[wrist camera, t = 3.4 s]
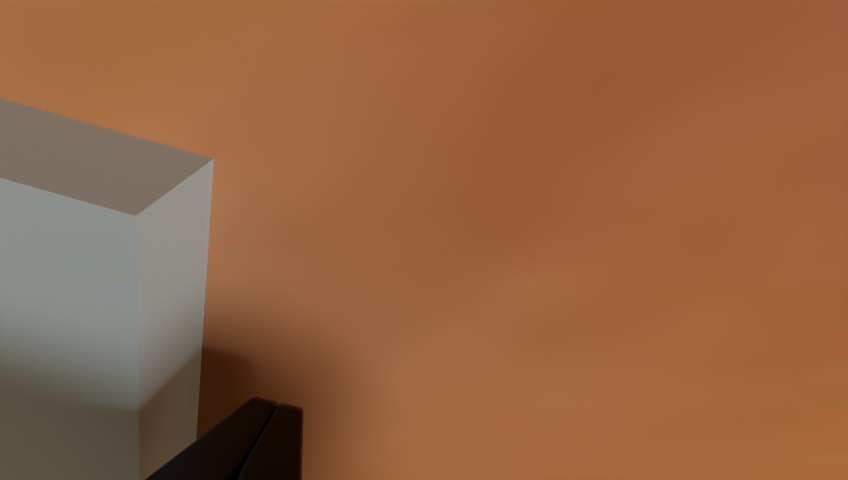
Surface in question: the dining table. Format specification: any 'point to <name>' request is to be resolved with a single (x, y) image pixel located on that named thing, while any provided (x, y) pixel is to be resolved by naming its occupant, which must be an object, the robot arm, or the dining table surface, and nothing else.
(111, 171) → the pale grey box
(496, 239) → the dining table surface
